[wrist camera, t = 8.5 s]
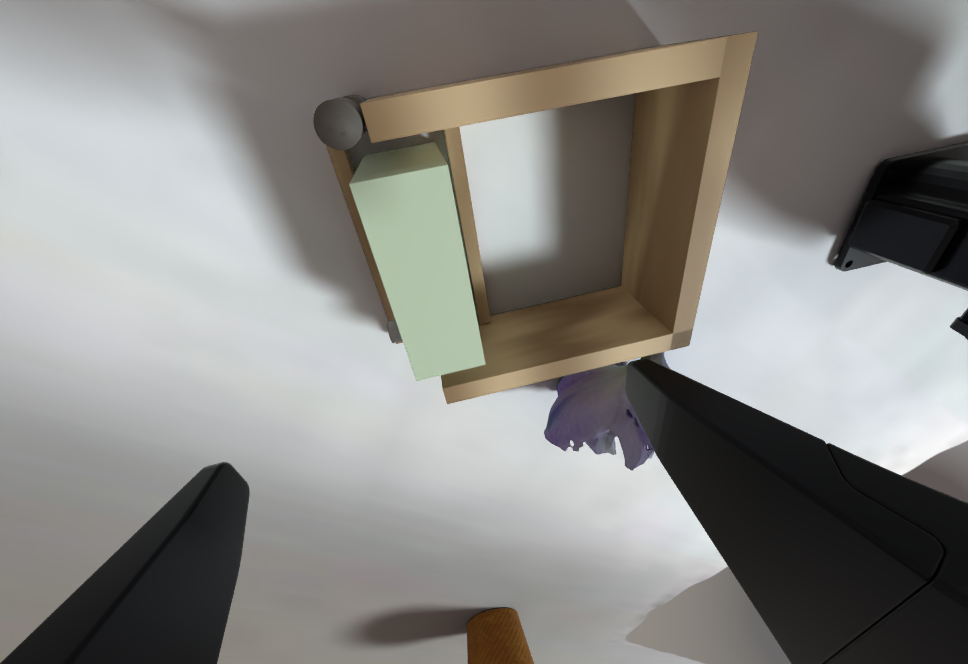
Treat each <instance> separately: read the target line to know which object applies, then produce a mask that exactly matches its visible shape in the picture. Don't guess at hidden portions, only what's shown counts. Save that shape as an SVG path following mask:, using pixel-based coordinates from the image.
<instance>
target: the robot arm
mask: <svg viewBox="0 0 968 664" xmlns="http://www.w3.org/2000/svg"><path fill="white" fill-rule="evenodd" d="M883 262H890V263H893V264H896V265H898V266H901V267H904V268H907V269H909V270H912V271H915V272H918V273H920V274H923V275H926V276H929V277H931V278H934V279H937V280H940V281H942V282H945V283H948V284H951V285H953V286H956V287H959V288H962V289H964V290H967V291H968V142H965V143H961V144H956V145H951V146H947V147H942V148H937V149H933V150H928V151H923V152H919V153H914V154H909V155H905V156H900V157H895V158H891V159H887V160H885V161H884V162H882V163H881V164H880V165H879V166H878V168H877V170H876V172H875V174H874V176H873V178H872V181H871V183H870V185H869V188H868V190H867V192H866V194H865V197H864V199H863V201H862V204H861V206H860V208H859V210H858V213H857V215H856V217H855V220H854V222H853V224H852V226H851V229H850V231H849V233H848V236H847V238H846V240H845V242H844V245H843V247H842V249H841V252H840V254H839V256H838V259H837V261H836V263H835V268H837V269H839V270H841V271H849V270H853V269H857V268H862V267H866V266H870V265H874V264H879V263H883ZM950 327H951V328H952V329H953V330H955V331H957V332H958V333H960V334H961V335H963V336H965V338H966V339H967V340H968V309H967V310H966V311H965V312H964V313H963V315H962V316H961V317H958V318H956V319H955V321H954V322H953V323H952V324H951V325H950ZM625 392H626V395H627V398H628V400H629V402H630V404H631V406H632V408H633V410H634V412H635V414H636V416H637V418H638V420H639V422H640V424H641V426H642V428H643V430H644V432H645V434H646V436H647V438H648V440H649V442H650V444H651V446H652V447H653V449H654V451H655V453H656V455H657V457H658V458H659V460H660V461H661V463H662V465H663V466H664V468H665V469H666V471H667V472H668V474H669V475H670V477H671V479H672V480H673V482H674V483H675V485H676V486H677V488H678V489H679V491H680V492H681V494H682V496H683V497H684V499H685V500H686V502H687V503H688V505H689V506H690V508H691V509H692V511H693V512H694V514H695V516H696V517H697V519H698V520H699V522H700V523H701V525H702V526H703V528H704V529H705V531H706V533H707V534H708V536H709V537H710V539H711V540H712V542H713V543H714V545H715V546H716V548H717V550H718V551H719V553H720V554H721V556H722V557H723V559H724V560H725V562H726V563H727V565H728V566H729V568H730V569H731V571H732V573H733V574H734V576H735V577H736V579H737V580H738V582H739V583H740V585H741V587H742V588H743V589H744V591H745V593H746V594H747V596H748V597H749V599H750V600H751V602H752V603H753V605H754V607H755V608H756V610H757V611H758V613H759V614H760V616H761V617H762V619H763V620H764V622H765V624H766V625H767V627H768V628H769V630H770V631H771V633H772V634H773V636H774V637H775V639H776V640H777V642H778V644H779V645H780V647H781V648H782V650H783V651H784V653H785V654H786V656H787V658H788V659H789V661H790V662H791V664H968V503H967V502H965V501H962V500H960V499H957V498H955V497H952V496H950V495H947V494H944V493H942V492H940V491H937V490H935V489H932V488H930V487H928V486H925V485H923V484H920V483H918V482H916V481H913V480H911V479H908V478H906V477H904V476H901V475H899V474H896V473H894V472H892V471H890V470H887V469H885V468H883V467H881V466H878V465H876V464H874V463H872V462H869V461H867V460H865V459H863V458H861V457H858V456H856V455H854V454H852V453H850V452H847V451H845V450H843V449H841V448H839V447H837V446H835V445H832V444H830V443H828V444H826V443H825V441H823V440H821V439H819V438H817V437H815V436H813V435H811V434H808V433H806V432H804V431H802V430H800V429H798V428H796V427H793V426H791V425H789V424H787V423H785V422H783V421H781V420H778V419H776V418H774V417H772V416H770V415H768V414H765V413H763V412H761V411H759V410H757V409H755V408H753V407H750V406H748V405H746V404H744V403H742V402H740V401H738V400H735V399H733V398H731V397H729V396H727V395H725V394H723V393H720V392H718V391H716V390H714V389H712V388H710V387H707V386H705V385H703V384H701V383H699V382H697V381H695V380H692V379H690V378H688V377H686V376H684V375H682V374H680V373H677V372H675V371H673V370H671V369H669V368H667V367H665V366H662V365H660V364H658V363H656V362H654V361H652V360H649V359H640V360H636V361H632V362H630V363H629V364H628V365H627V373H626V382H625ZM249 493H250V492H249V486H248V484H247V482H246V481H245V480H244V479H243V477H242V476H241V475H240V474H239V473H238V472H237V471H236V470H235V468H234V467H233V466H232V465H231V464H229V463H227V462H222V463H218V464H214V465H210V466H207V467H205V468H203V469H202V470H201V471H200V472H199V473H198V474H197V475H196V476H194V477H193V478H192V479H191V480H190V481H189V482H188V483H187V484H186V485H185V486H184V487H183V488H182V489H181V490H180V491H179V492H178V493H177V494H176V495H175V496H174V497H173V498H172V499H171V500H170V501H168V502H167V503H166V504H165V505H164V506H163V507H162V508H161V509H160V510H159V511H158V512H157V513H156V514H155V515H154V516H153V517H152V518H151V519H150V520H149V521H148V522H147V523H146V524H145V525H144V526H143V527H141V528H140V529H139V530H138V531H137V532H136V533H135V534H134V535H133V536H132V537H131V538H130V539H129V540H128V541H127V542H126V543H125V544H124V545H123V546H122V547H121V548H120V549H119V550H118V551H117V552H115V553H114V554H113V555H112V556H111V557H110V558H109V559H108V560H107V561H106V562H105V563H104V564H103V565H102V566H101V567H100V568H99V569H98V570H97V571H96V572H95V573H94V574H93V575H92V576H91V577H89V578H88V579H87V580H86V581H85V582H84V583H83V584H82V585H81V586H80V587H79V588H78V589H77V590H76V591H75V592H74V593H73V594H72V595H71V596H70V597H69V598H68V599H67V600H66V601H65V602H63V603H62V604H61V605H60V606H59V607H58V608H57V609H56V610H55V611H54V612H53V613H52V614H51V615H50V616H49V617H48V618H47V619H46V620H45V621H44V622H43V623H42V624H41V625H40V626H39V627H37V628H36V629H35V630H34V631H33V632H32V633H31V634H30V635H29V636H28V637H27V638H26V639H25V640H24V641H23V642H22V643H21V644H20V645H19V646H18V647H17V648H16V649H15V650H14V651H13V652H11V653H10V654H9V655H8V656H7V657H6V658H5V659H4V660H3V661H2V662H1V663H0V664H217V661H218V657H219V653H220V649H221V644H222V640H223V636H224V632H225V628H226V623H227V619H228V615H229V611H230V607H231V602H232V598H233V594H234V590H235V585H236V581H237V577H238V572H239V567H240V561H241V555H242V548H243V541H244V533H245V525H246V518H247V510H248V502H249Z"/></svg>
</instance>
